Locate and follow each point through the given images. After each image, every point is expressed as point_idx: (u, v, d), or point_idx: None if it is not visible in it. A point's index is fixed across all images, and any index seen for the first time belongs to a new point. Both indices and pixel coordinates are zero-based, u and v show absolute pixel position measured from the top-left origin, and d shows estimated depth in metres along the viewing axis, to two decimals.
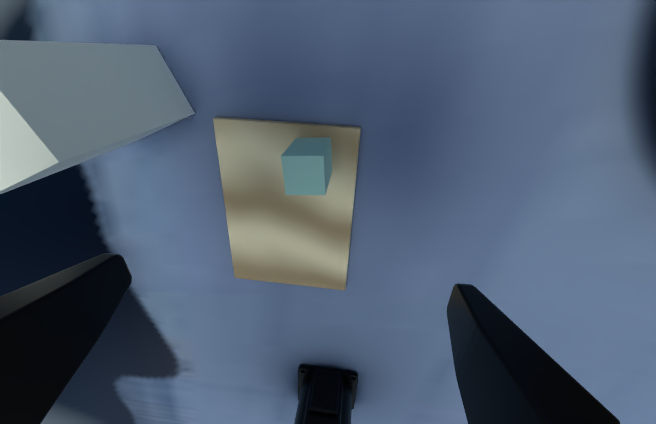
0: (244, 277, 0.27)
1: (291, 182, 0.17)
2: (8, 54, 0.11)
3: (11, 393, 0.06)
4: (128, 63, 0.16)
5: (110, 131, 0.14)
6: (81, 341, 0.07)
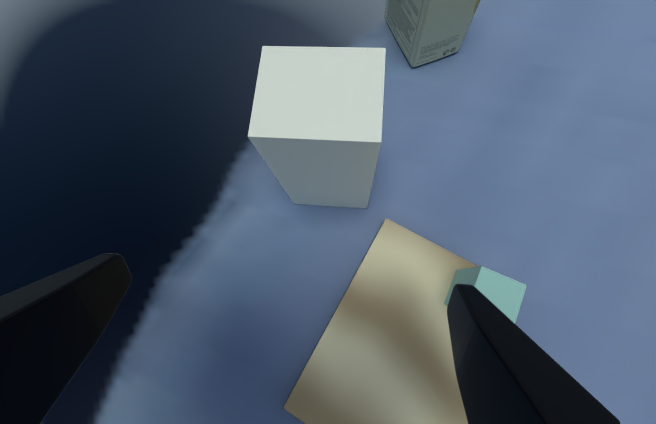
0: (296, 413, 0.19)
1: None
2: None
3: (11, 393, 0.06)
4: None
5: None
6: (81, 341, 0.07)
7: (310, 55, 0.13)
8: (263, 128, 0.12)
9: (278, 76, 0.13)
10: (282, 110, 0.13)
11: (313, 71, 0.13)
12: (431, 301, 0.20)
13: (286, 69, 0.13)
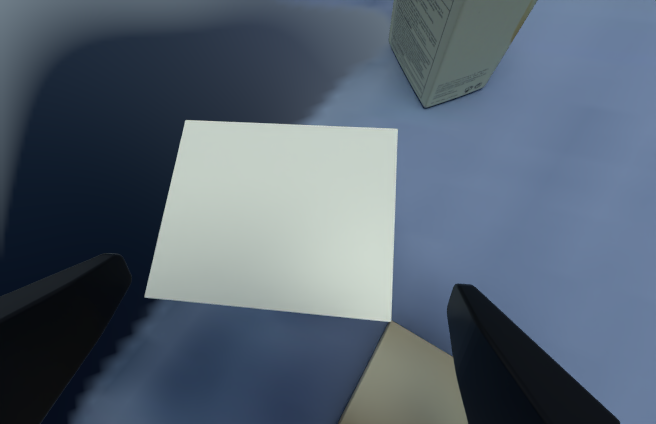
0: None
1: None
2: None
3: (11, 393, 0.06)
4: None
5: None
6: (81, 341, 0.07)
7: (265, 139, 0.08)
8: (173, 281, 0.07)
9: (208, 177, 0.07)
10: (211, 246, 0.07)
11: (269, 170, 0.07)
12: None
13: (222, 165, 0.07)
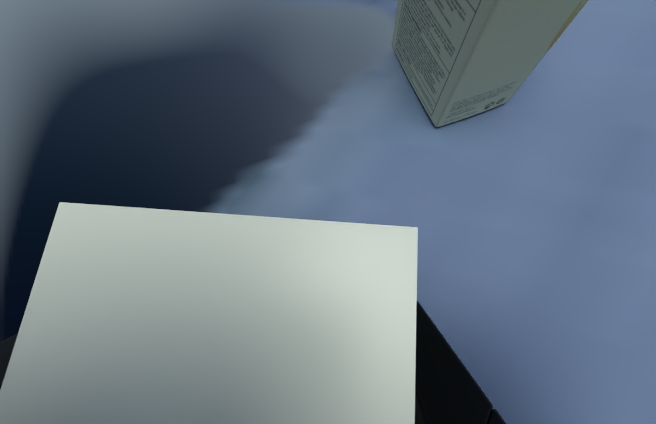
0: None
1: None
2: None
3: None
4: None
5: None
6: None
7: (189, 242, 0.04)
8: None
9: (86, 312, 0.04)
10: None
11: (191, 301, 0.04)
12: None
13: (113, 288, 0.04)
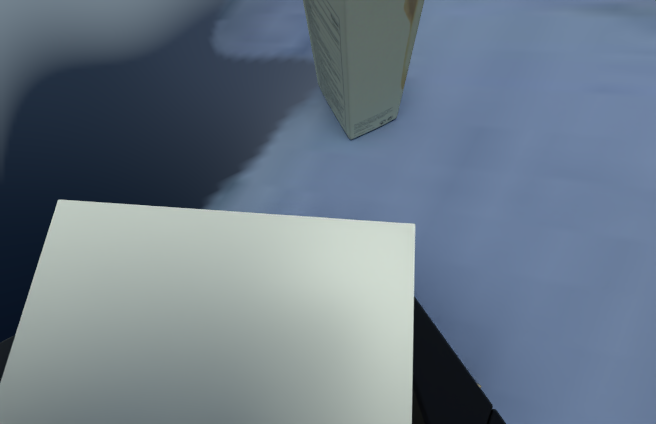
0: None
1: None
2: None
3: None
4: None
5: None
6: None
7: (187, 239, 0.04)
8: None
9: (85, 309, 0.04)
10: None
11: (190, 298, 0.04)
12: None
13: (111, 285, 0.04)
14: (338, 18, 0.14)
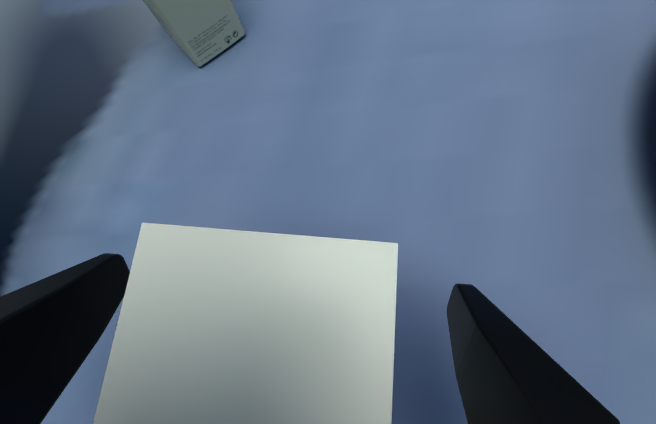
0: None
1: None
2: None
3: (11, 393, 0.06)
4: None
5: None
6: (81, 341, 0.07)
7: (237, 252, 0.06)
8: None
9: (166, 301, 0.06)
10: (166, 396, 0.06)
11: (240, 294, 0.06)
12: None
13: (184, 284, 0.06)
14: None
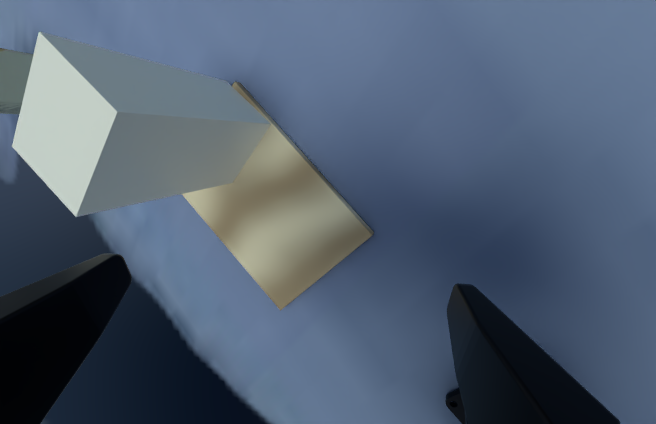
0: (285, 302, 0.23)
1: None
2: (83, 49, 0.12)
3: (11, 393, 0.06)
4: (199, 81, 0.17)
5: (179, 110, 0.13)
6: (81, 341, 0.07)
7: (28, 112, 0.12)
8: (73, 200, 0.13)
9: (38, 154, 0.13)
10: (65, 174, 0.12)
11: (42, 120, 0.12)
12: None
13: (34, 142, 0.13)
14: None
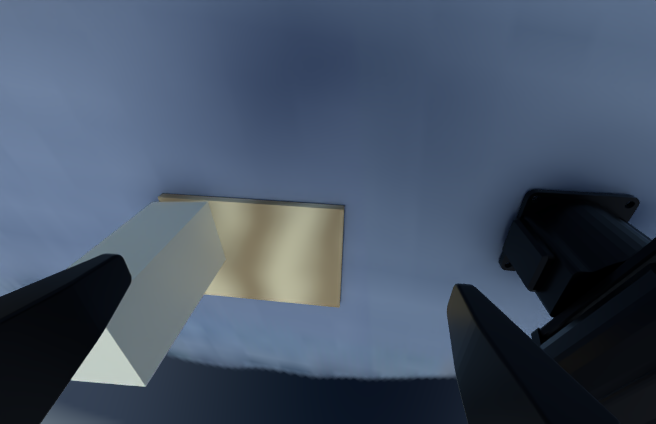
0: (337, 300, 0.26)
1: None
2: None
3: (11, 393, 0.06)
4: (134, 226, 0.20)
5: (135, 267, 0.16)
6: (81, 341, 0.07)
7: None
8: (134, 379, 0.16)
9: (88, 372, 0.16)
10: (113, 370, 0.15)
11: None
12: None
13: (79, 368, 0.16)
14: None
